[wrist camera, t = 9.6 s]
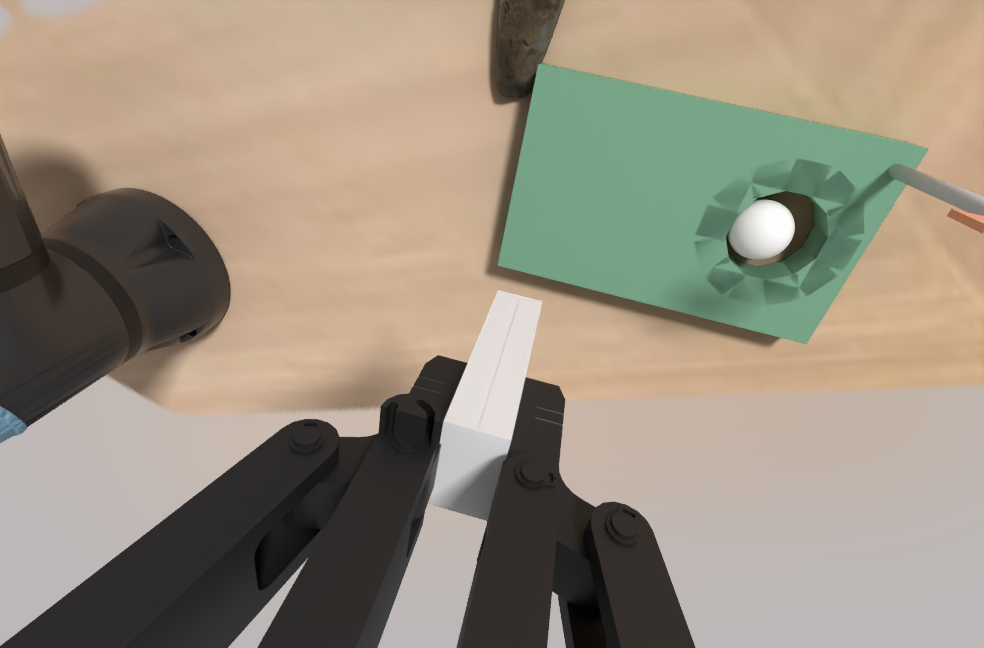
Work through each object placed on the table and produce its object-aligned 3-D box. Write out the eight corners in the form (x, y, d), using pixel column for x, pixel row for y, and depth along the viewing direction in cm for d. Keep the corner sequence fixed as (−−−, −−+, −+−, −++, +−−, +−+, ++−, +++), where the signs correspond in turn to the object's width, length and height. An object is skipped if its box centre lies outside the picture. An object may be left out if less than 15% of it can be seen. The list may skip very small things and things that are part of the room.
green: (503, 253, 40) (446, 366, 26) (542, 63, 32) (493, 74, 18) (795, 327, 38) (905, 493, 24) (906, 141, 30) (1161, 221, 16)
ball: (705, 245, 34) (751, 271, 32) (730, 190, 32) (781, 212, 30) (742, 244, 36) (789, 268, 33) (767, 192, 34) (819, 213, 31)
